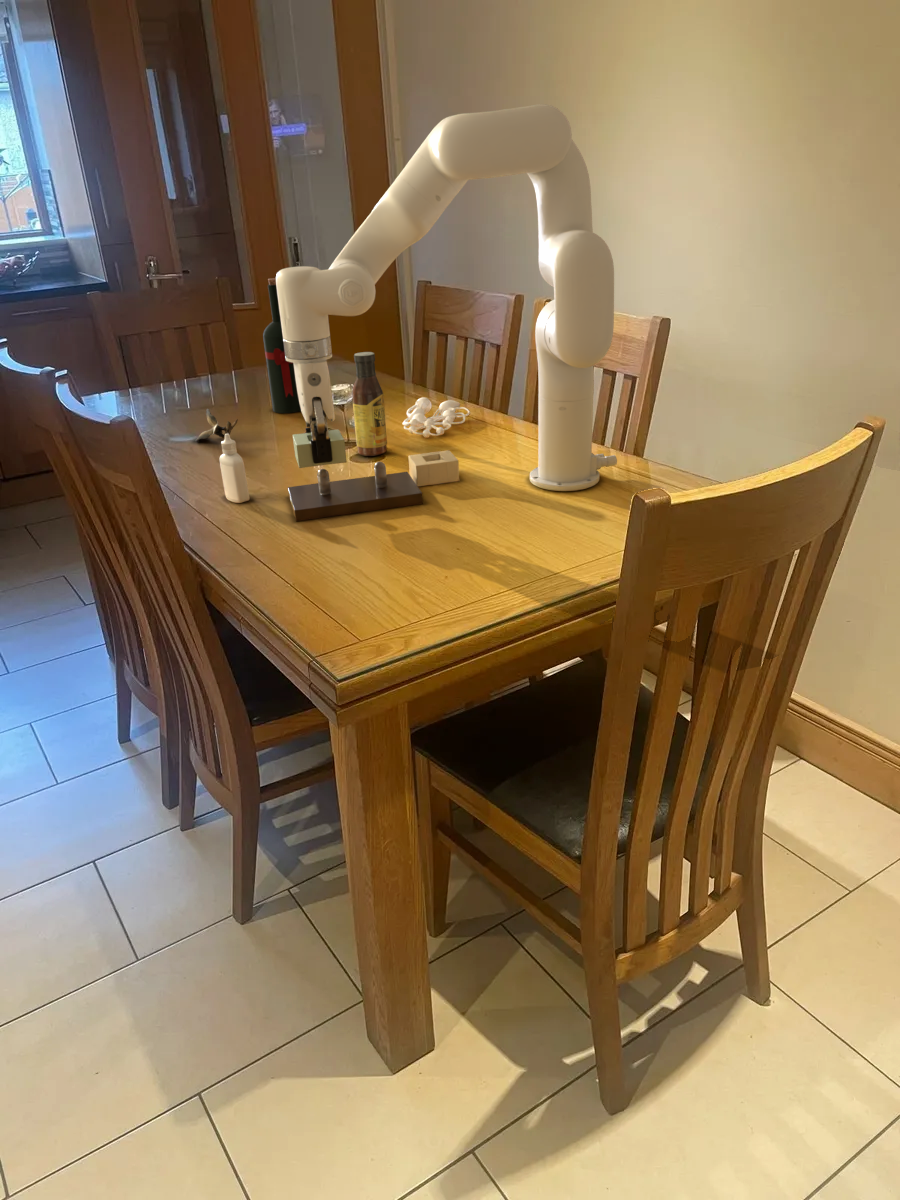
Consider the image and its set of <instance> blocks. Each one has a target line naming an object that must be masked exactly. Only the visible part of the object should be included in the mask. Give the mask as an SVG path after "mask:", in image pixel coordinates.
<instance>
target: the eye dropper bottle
mask: <svg viewBox="0 0 900 1200" xmlns="http://www.w3.org/2000/svg"><path fill="white" fill-rule="evenodd" d="M224 434H225V438H224V439H223V440H222V441H221V442H220V445H221V450H222V454H220V456H219V459H218V460H219V461H218V462H219V468H220V472H221V478H222V485H223V490H224V496H225V498H226V499H227V500H228V501H229V502H232V503H235V504H240V503H245V502H248V501H250V492H249V491H250V490H249V486H248V485H249V484H248V480H247V474H246V468H245V463H244V459H243V457H242V456H241V455H240V454H239V453H238V450H237V443H236V440H235V439H232V438H231V436H230V435H229V434H226V433H224Z"/></svg>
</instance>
